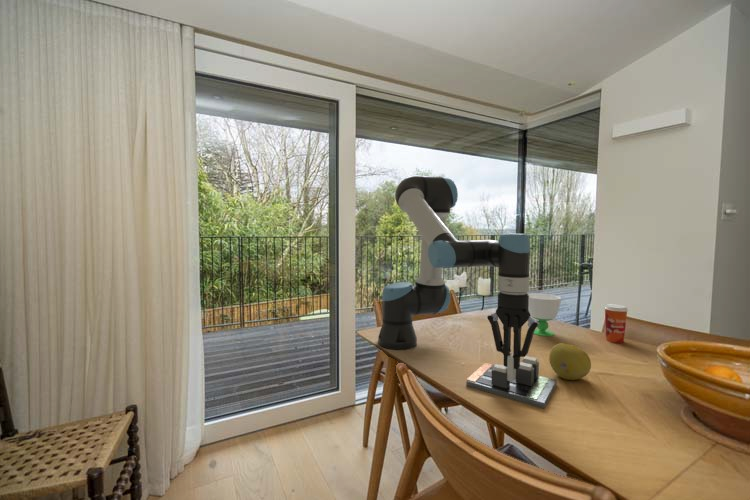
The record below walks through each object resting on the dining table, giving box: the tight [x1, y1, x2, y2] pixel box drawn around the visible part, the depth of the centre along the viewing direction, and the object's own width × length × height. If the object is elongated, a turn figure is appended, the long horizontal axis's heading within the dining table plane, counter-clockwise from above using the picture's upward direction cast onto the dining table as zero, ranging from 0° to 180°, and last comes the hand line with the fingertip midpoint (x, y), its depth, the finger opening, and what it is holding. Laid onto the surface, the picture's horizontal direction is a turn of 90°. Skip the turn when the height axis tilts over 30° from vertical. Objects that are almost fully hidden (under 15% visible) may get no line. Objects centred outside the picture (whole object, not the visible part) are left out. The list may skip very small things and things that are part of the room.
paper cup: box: [604, 303, 629, 344], centre depth 131 cm, size 8×8×14 cm
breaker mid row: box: [516, 361, 534, 386], centre depth 92 cm, size 4×3×5 cm
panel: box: [465, 362, 557, 410], centre depth 94 cm, size 20×16×2 cm
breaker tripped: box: [491, 363, 510, 389], centre depth 91 cm, size 4×3×5 cm
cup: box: [527, 292, 562, 337], centre depth 142 cm, size 14×14×16 cm
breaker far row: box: [521, 355, 540, 379], centre depth 96 cm, size 4×3×5 cm
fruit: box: [548, 342, 592, 381], centre depth 99 cm, size 10×11×10 cm
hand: (511, 379), depth 89 cm, fingers closed
